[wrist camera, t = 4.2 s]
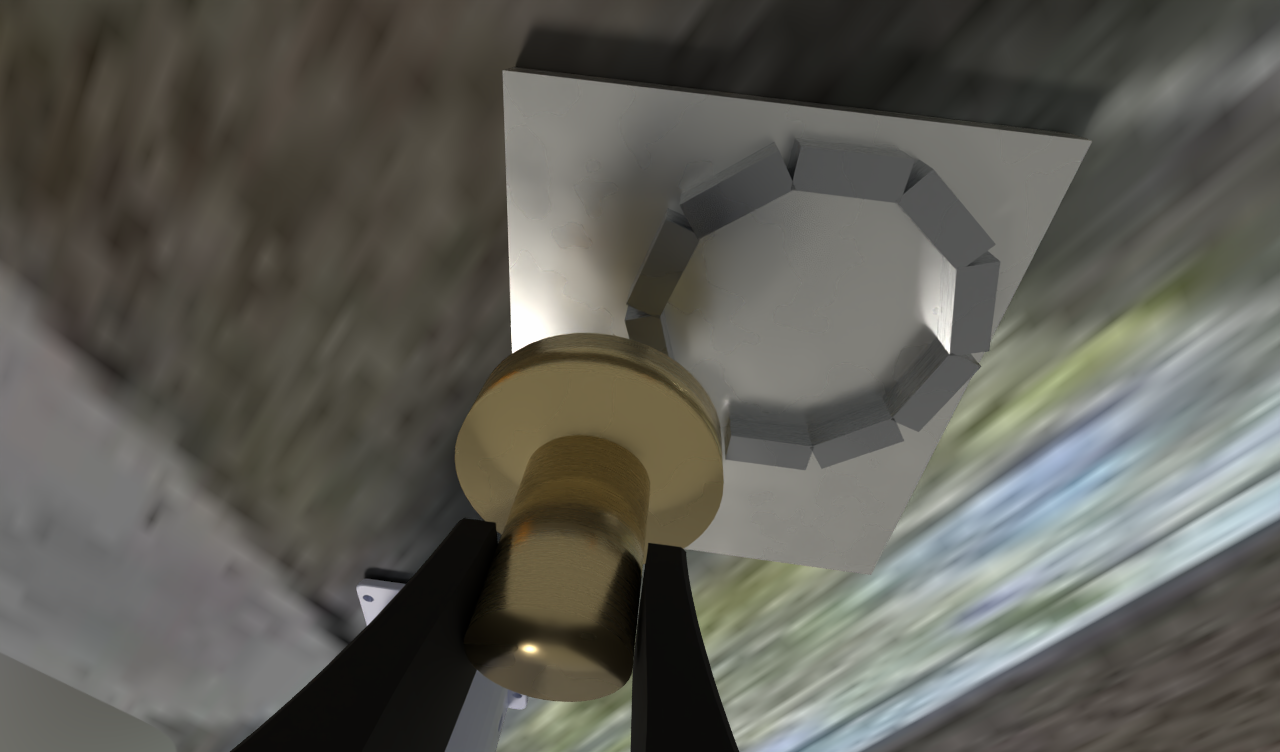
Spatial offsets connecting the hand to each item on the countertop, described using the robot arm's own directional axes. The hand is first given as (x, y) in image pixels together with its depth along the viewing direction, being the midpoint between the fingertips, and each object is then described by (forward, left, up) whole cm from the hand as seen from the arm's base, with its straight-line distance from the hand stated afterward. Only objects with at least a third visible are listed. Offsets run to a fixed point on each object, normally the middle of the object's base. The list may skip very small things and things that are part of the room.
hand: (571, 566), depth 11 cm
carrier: (-1, -3, -9) cm, 10 cm away
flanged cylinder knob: (0, 0, -4) cm, 4 cm away
